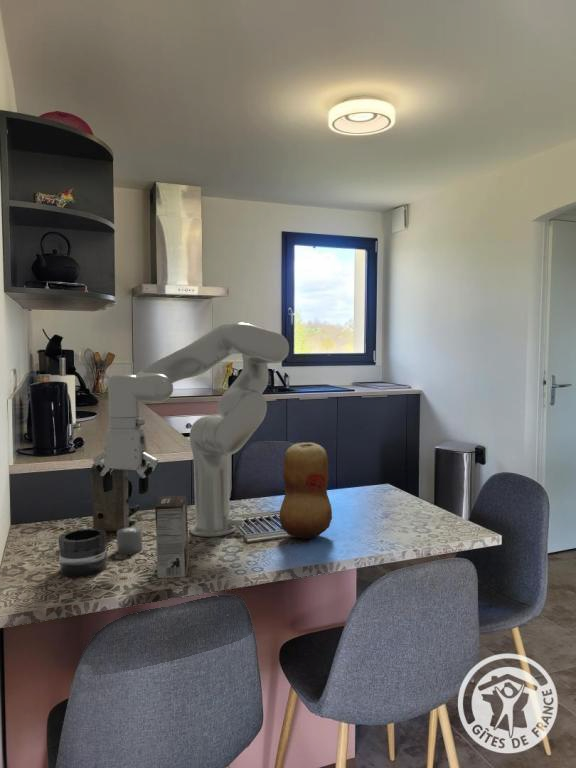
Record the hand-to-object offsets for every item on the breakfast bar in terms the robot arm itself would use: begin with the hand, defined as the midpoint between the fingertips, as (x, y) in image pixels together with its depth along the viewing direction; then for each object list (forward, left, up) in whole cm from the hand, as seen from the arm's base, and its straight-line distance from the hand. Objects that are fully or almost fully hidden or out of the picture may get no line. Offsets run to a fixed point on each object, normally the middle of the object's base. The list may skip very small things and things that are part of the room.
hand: (125, 492), depth 146 cm
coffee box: (-17, +11, -15) cm, 25 cm away
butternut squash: (-42, -17, -15) cm, 48 cm away
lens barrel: (+4, +14, -15) cm, 20 cm away
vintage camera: (+14, -19, -15) cm, 28 cm away
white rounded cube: (0, 0, -15) cm, 15 cm away
